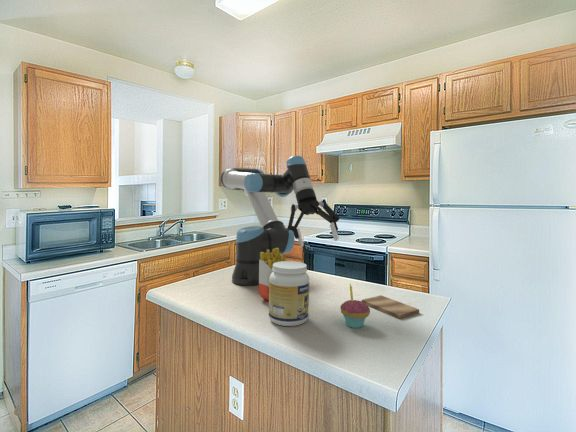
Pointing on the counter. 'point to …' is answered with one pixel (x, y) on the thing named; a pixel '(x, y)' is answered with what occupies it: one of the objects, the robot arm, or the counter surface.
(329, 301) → the counter surface
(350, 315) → the cupcake
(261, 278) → the french fries container
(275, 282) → the supplement tub
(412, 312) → the cutting board
